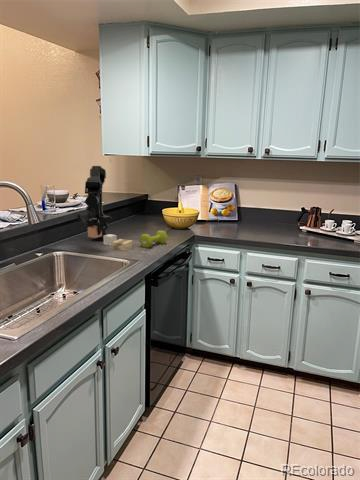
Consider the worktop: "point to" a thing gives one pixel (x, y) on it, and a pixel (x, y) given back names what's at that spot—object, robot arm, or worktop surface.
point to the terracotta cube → (93, 232)
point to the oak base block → (122, 244)
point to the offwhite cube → (109, 239)
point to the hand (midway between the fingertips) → (94, 234)
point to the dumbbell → (153, 239)
